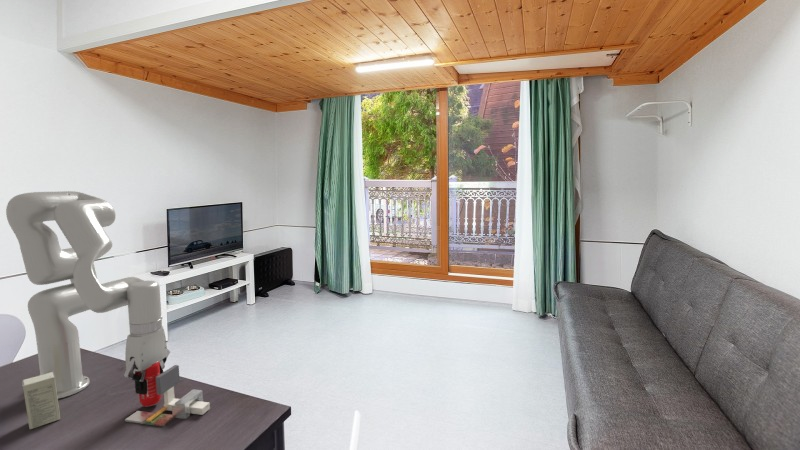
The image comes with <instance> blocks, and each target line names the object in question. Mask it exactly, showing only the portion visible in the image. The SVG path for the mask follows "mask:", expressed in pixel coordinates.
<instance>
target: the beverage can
mask: <svg viewBox="0 0 800 450" xmlns="http://www.w3.org/2000/svg"><path fill="white" fill-rule="evenodd" d="M140 373H141V372H139V373H138V375H139V376H140ZM158 375H160V365H159V362H158V361H157V362H156V363H154V364H152V366H151V367H149V368H147V369H146V373H145V379H144V380H147V394H145V395H144V394H138V396H139V403H140V404H141V406H142V407H152V406H156V405H157V404H158V403H160V401H161V398H162V395H157V387H156V377H157V376H158Z"/></svg>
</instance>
